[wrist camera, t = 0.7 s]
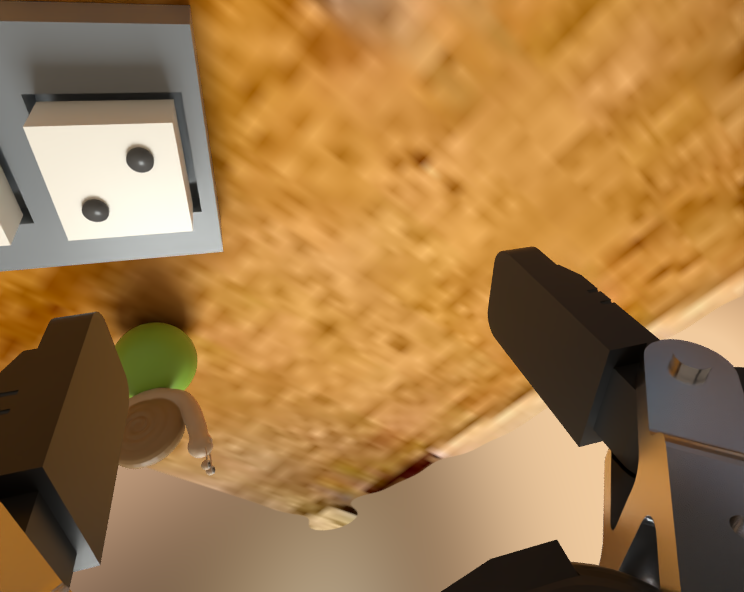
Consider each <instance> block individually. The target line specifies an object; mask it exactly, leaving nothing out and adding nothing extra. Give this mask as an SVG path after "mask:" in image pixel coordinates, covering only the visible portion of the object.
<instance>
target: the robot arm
mask: <svg viewBox="0 0 744 592" xmlns="http://www.w3.org/2000/svg"><path fill="white" fill-rule="evenodd" d="M488 321H489V326H490V329H491V331H492V334H493V336H494V337H495V339H496V340H497V341H498V343H499V344H500V345H501V346H502V348H503V349H504V350H505V352H506V353H507V354H508V356H509V357H510V358H511V359H512V361H513V362H514V363H515V365H516V366H517V367H518V368H519V370H520V371H521V372H522V374H523V375H524V376H525V378H526V379H527V380H528V381H529V383H530V384H531V385H532V387H533V388H534V389H535V390H536V392H537V393H538V394H539V396H540V397H541V398H542V400H543V401H544V402H545V403H546V405H547V406H548V407H549V409H550V410H551V411H552V412H553V414H554V415H555V416H556V418H557V419H558V420H559V422H560V423H561V424H562V425H563V426H564V428H565V429H566V431H567V432H568V433H569V434H570V436H571V437H572V438H573V440H574V441H575V442H576V444H577V445H578V446H579V447H581V446H585V445H589V444H593V443H597V442H601V441H603V442H604V443H605V444H606V445H607V446H608V447H609V449H608V452H607V454H606V457H605V472H604V517H603V546H602V553H601V559H600V563H599V566H598V565H592V564H585V563H578V562H570V560H569V559H568V557H567V555H566V554H565V552H564V551H563V549H562V547H561V546H560V544H559V542H558V541H557V540H554V541H551V542H547V543H544V544H540V545H537V546H533V547H530V548H527V549H523V550H520V551H516V552H513V553H509V554H507V555H503V556H499V557H496V558H492V559H490V560H489V561H487V562H485V563H484V564H482V565H481V566H479V567H478V568H476V569H475V570H473V571H472V572H470V573H469V574H467V575H466V576H464V577H463V578H461V579H460V580H458V581H456V582H455V583H453V584H452V585H450V586H449V587H448V588H446V589H444V590H443V591H441V592H744V368H742V367H733V365H732V364H731V363H729V361H727V360H726V359H725V358H723V357H722V356H721V355H719V354H718V353H716V352H714V351H712V350H710V349H709V348H706V347H704V346H701V345H698V344H695V343H692V342H688V341H683V340H674V339H673V340H672V339H667V340H659V339H658V338H657V337H656V336H654V335H653V334H652V333H651V332H649V331H648V330H647V329H646V328H645V327H643V326H642V325H641V324H640V323H639V322H637V321H636V320H635V319H634V318H633V317H631V316H630V315H629V314H628V313H626V312H625V311H624V310H623V309H622V308H620V307H619V306H618V305H617V304H616V303H611V299H610V298H608V297H607V296H606V295H605V294H603V293H602V292H601V291H599V292H598V290H597V288H596V287H595V286H594V285H593V284H591V283H590V282H589V281H588V280H587V279H585V278H584V277H583V276H582V275H580V274H578V273H576V272H573V271H571V270H569V269H567V268H565V267H562V266H560V265H556V264H555V263H554V262H553V261H552V260H550V259H549V258H548V257H547V256H546V255H545V254H543V253H542V252H541V251H540V250H539V249H537V248H536V247H526V248H519V249H513V250H506V251H501V252H499V253H498V254H497V256H496V258H495V262H494V269H493V276H492V284H491V291H490V298H489V306H488ZM128 409H129V387H128V382H127V378H126V374H125V371H124V369H123V366H122V364H121V361H120V358H119V356H118V353H117V351H116V348H115V345H114V343H113V340H112V338H111V335H110V332H109V330H108V327H107V325H106V322H105V320H104V318H103V316H102V315H101V314H100V313H99V312H92V313H86V314H79V315H73V316H66V317H60V318H54V319H52V320H51V321H50V322H49V324H48V326H47V328H46V331H45V333H44V335H43V337H42V340H41V342H40V344H39V346H38V349H32V350H26V351H23V352H22V353H21V354H20V355H19V356H17V357H16V358H15V359H14V360H13V361H12V362H11V363H10V364H9V365H8V366H7V367H6V368H5V369H3V370H2V371H1V372H0V592H72V591H71V590H70V589H69V587H70V583H71V578H72V574H73V572H75V571H79V570H83V569H87V568H91V567H95V566H99V565H100V563H101V558H102V552H103V546H104V540H105V536H106V530H107V524H108V519H109V513H110V508H111V502H112V497H113V492H114V486H115V480H116V475H117V469H118V464H119V459H120V453H121V448H122V442H123V436H124V431H125V425H126V420H127V414H128Z"/></svg>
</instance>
